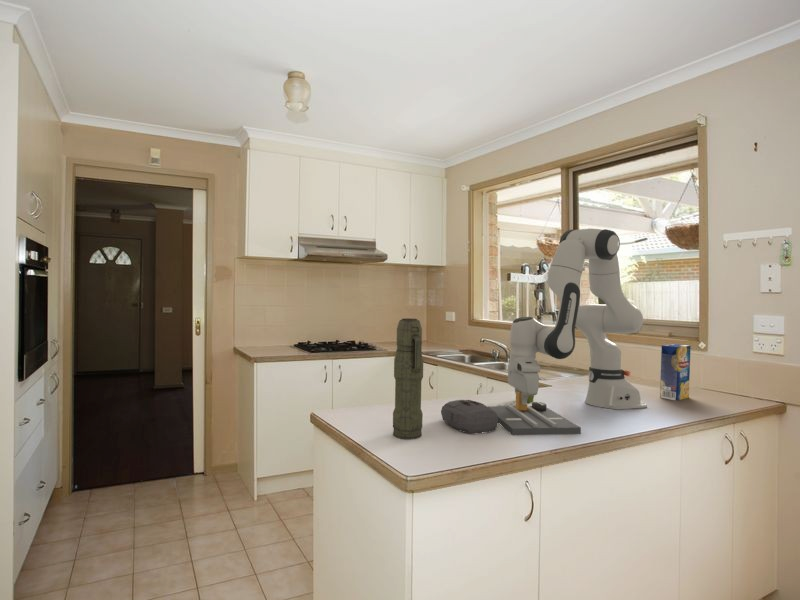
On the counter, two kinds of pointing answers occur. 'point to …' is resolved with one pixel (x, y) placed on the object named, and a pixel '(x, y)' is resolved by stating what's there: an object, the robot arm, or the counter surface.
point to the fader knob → (518, 401)
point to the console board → (534, 420)
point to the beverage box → (675, 371)
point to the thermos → (408, 380)
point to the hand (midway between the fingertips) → (521, 402)
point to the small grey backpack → (469, 416)
